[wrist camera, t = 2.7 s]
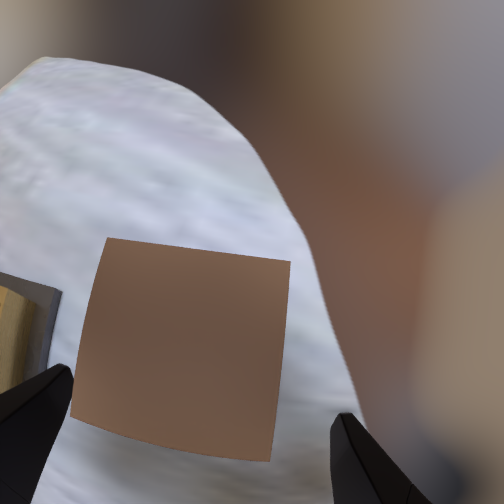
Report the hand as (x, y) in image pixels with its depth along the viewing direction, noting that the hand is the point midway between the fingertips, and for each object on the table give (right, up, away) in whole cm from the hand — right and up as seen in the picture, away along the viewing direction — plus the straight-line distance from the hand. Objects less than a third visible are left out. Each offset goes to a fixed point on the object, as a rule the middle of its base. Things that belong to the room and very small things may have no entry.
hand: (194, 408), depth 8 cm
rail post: (0, -2, +9) cm, 9 cm away
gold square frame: (-18, -3, +8) cm, 20 cm away
